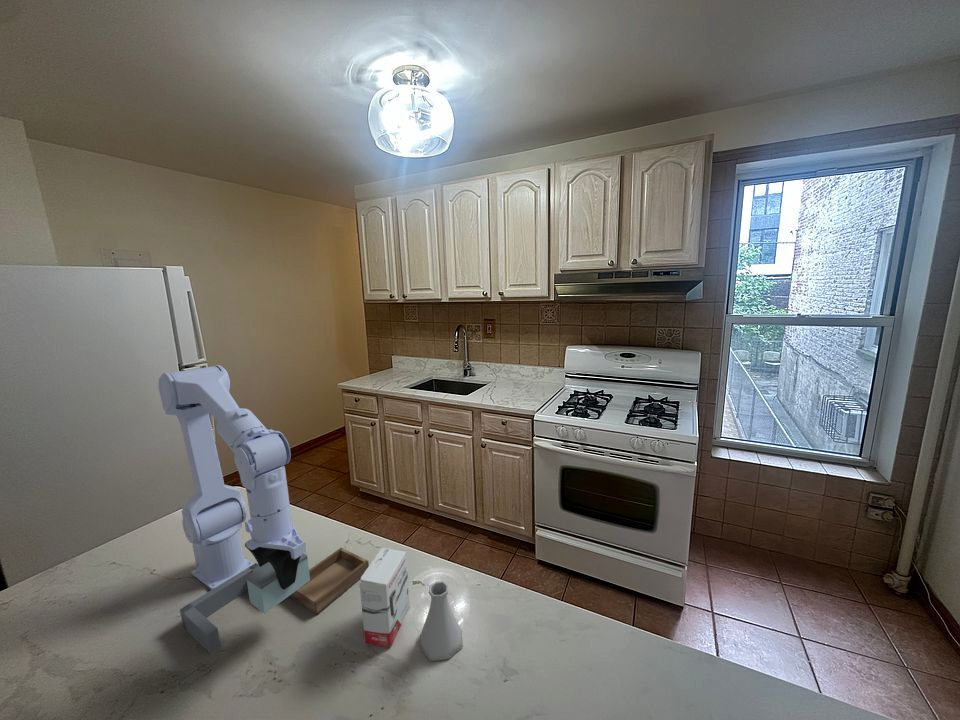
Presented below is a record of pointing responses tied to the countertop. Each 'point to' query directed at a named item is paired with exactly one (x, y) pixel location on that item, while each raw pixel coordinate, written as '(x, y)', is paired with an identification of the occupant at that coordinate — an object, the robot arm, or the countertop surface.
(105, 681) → the countertop surface
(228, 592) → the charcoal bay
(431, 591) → the flask
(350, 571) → the walnut tray
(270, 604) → the pale grey block
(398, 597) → the ink box
